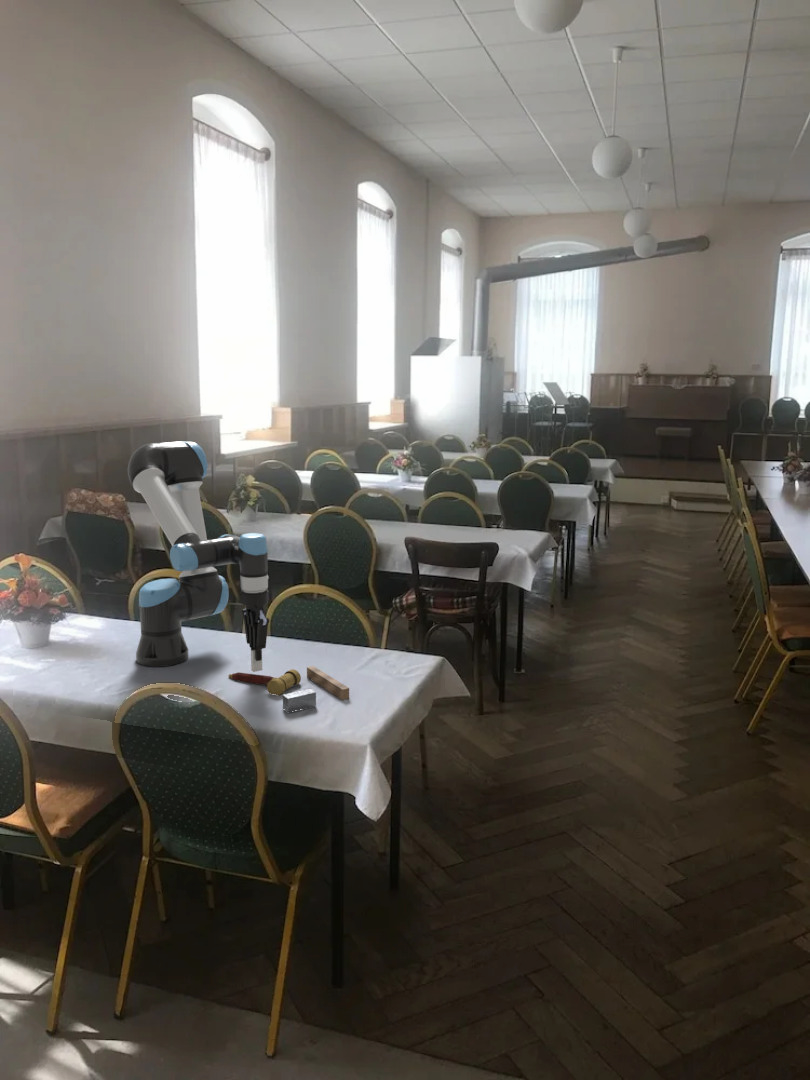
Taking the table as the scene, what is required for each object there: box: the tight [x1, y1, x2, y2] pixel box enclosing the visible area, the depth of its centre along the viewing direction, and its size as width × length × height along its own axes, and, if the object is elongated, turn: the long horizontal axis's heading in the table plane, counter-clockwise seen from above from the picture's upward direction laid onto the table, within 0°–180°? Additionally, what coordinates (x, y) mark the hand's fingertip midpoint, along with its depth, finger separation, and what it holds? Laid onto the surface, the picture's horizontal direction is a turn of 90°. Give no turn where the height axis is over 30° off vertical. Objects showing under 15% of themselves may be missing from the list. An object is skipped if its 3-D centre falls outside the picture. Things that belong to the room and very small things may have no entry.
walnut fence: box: [306, 665, 350, 701], centre depth 234 cm, size 20×2×3 cm, turn 35°
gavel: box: [227, 668, 302, 696], centre depth 237 cm, size 21×5×10 cm
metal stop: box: [282, 688, 317, 713], centre depth 220 cm, size 3×8×4 cm, turn 124°
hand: (256, 670), depth 241 cm, fingers closed
